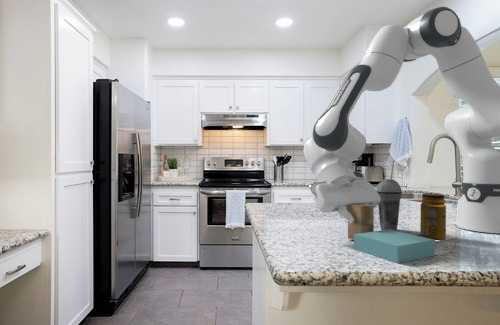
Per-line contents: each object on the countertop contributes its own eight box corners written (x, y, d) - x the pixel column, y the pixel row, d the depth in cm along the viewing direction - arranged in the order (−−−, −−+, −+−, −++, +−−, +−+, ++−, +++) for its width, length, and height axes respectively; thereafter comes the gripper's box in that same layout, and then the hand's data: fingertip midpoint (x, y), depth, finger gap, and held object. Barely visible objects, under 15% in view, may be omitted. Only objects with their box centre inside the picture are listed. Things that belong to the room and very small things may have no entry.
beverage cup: (373, 227, 100) (373, 164, 100) (397, 228, 99) (397, 164, 99) (379, 232, 93) (379, 164, 93) (405, 233, 92) (405, 164, 92)
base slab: (389, 243, 80) (389, 229, 80) (434, 255, 70) (434, 239, 70) (353, 248, 75) (353, 234, 75) (397, 263, 64) (397, 246, 64)
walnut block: (360, 236, 86) (360, 203, 86) (373, 240, 82) (373, 205, 82) (347, 238, 84) (347, 204, 84) (360, 242, 80) (360, 206, 80)
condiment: (452, 238, 85) (452, 194, 85) (436, 243, 81) (436, 196, 81) (425, 233, 92) (425, 192, 92) (409, 237, 87) (409, 193, 87)
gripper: (311, 174, 84) (337, 217, 76) (367, 173, 93) (396, 210, 85) (302, 190, 88) (325, 232, 80) (356, 187, 97) (382, 224, 89)
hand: (362, 221), depth 82 cm, fingers closed on walnut block, 4 cm apart
